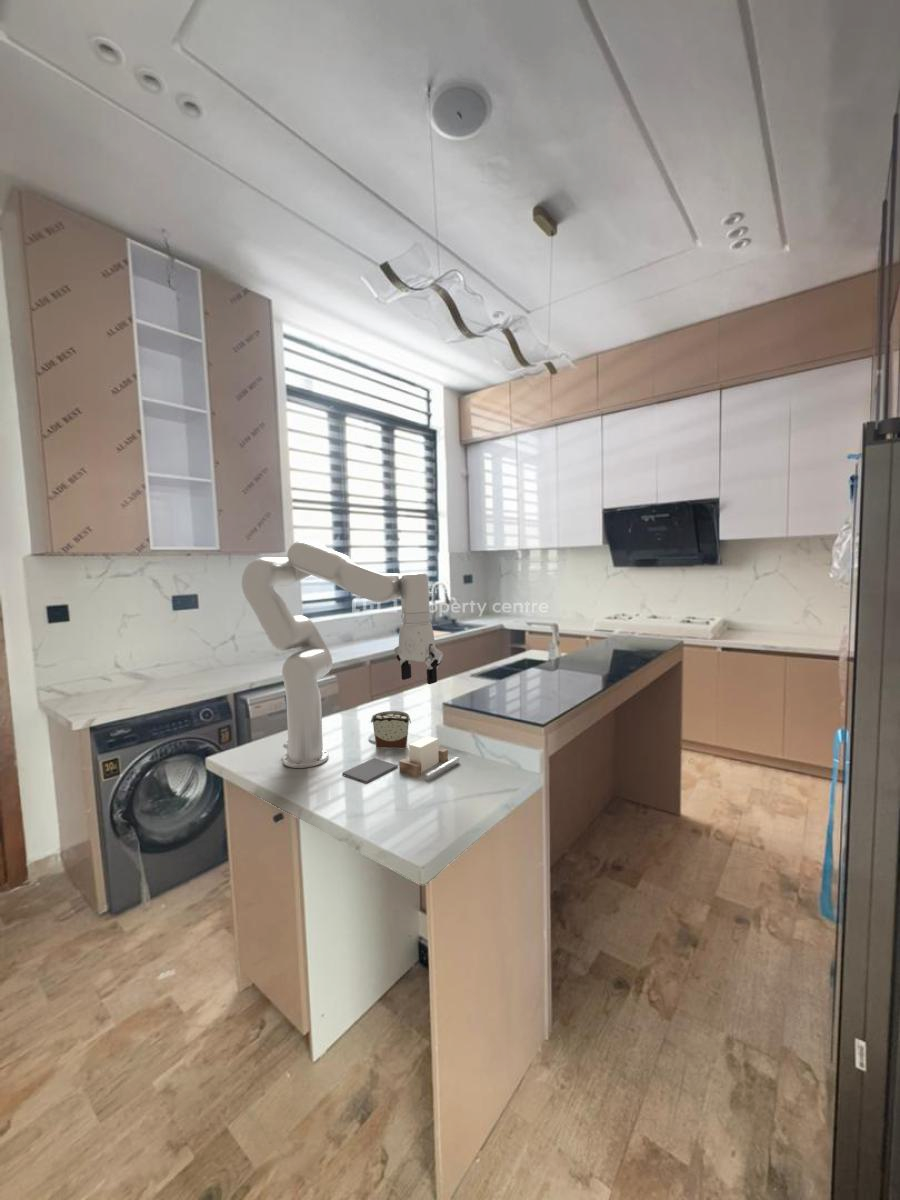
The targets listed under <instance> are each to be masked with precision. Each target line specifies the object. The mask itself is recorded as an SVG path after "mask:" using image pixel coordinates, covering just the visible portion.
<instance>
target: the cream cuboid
mask: <svg viewBox="0 0 900 1200" xmlns="http://www.w3.org/2000/svg"><path fill="white" fill-rule="evenodd" d="M408 747H409V748H408V752H409V753H408V755H409V756H408V757H409V759H408V760H410V761H413V762H417V763H420V764H421V773H423V772H425V771H427V770H428V769H430V768H432V767H433V766H436V765H437V764H439V762H440V761H439V749H438V747H439V738H437V737H432V736H430V735H429V736H428V735H426V736H424V737H421V738H420V739H418V740H415V741H414V742H412V743H410V744H408Z"/></svg>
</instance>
